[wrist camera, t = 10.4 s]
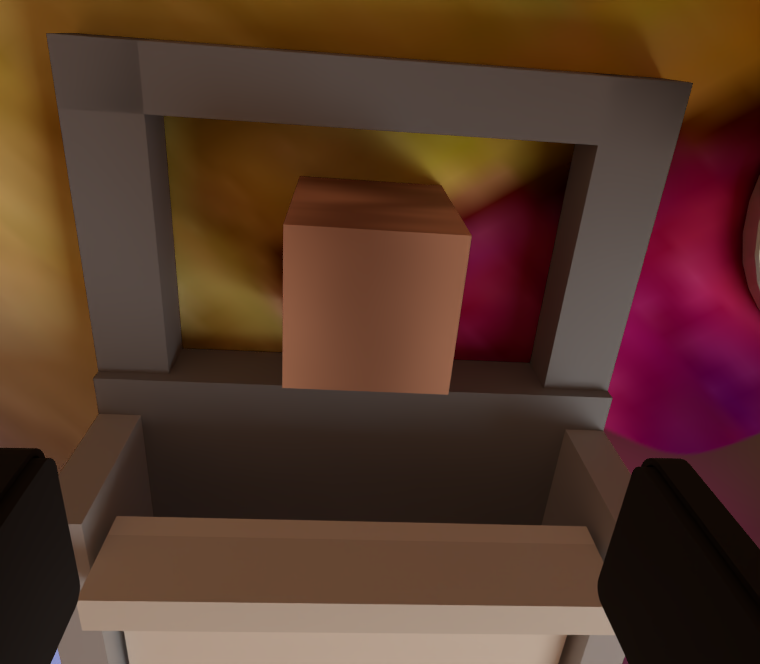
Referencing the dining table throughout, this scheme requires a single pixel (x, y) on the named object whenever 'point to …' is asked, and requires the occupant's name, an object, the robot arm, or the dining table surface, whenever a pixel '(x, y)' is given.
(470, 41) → the dining table surface
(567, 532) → the sliding lid
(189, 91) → the gray box frame
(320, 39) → the dining table surface
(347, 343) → the block
